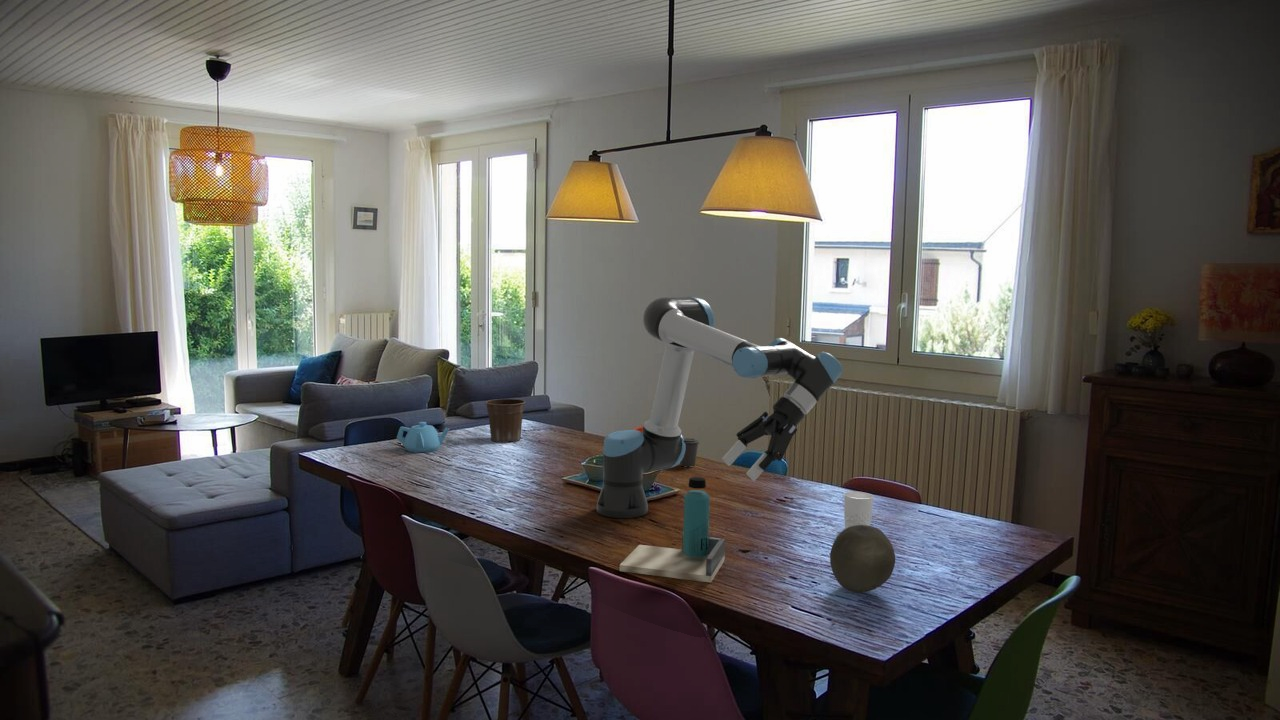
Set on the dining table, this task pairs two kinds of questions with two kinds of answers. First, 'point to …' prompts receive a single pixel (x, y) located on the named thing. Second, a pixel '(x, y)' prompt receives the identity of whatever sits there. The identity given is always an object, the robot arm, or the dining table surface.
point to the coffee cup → (689, 452)
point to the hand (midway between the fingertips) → (737, 469)
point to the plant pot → (505, 419)
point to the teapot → (421, 438)
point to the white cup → (857, 508)
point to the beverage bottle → (696, 519)
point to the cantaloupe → (862, 558)
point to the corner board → (676, 562)
